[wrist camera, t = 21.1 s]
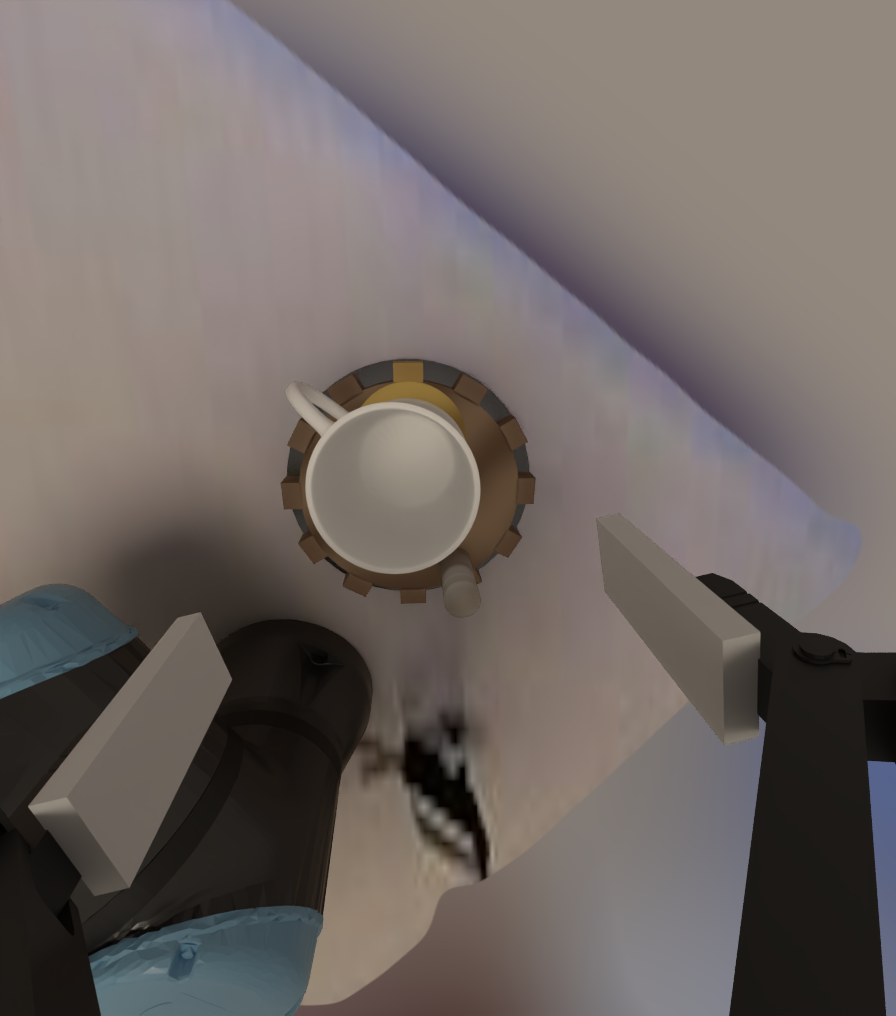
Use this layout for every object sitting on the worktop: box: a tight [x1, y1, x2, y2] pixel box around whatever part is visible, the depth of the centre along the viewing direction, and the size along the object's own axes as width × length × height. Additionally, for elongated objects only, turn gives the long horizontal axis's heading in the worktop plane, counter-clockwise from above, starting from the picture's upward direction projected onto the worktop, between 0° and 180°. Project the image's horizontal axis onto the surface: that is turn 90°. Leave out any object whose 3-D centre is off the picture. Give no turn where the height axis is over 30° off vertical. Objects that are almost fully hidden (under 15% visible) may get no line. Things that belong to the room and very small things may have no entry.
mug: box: [286, 381, 480, 574], centre depth 28 cm, size 12×8×12 cm
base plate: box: [287, 359, 529, 591], centre depth 38 cm, size 19×19×1 cm
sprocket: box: [281, 361, 535, 618], centre depth 34 cm, size 18×18×8 cm
